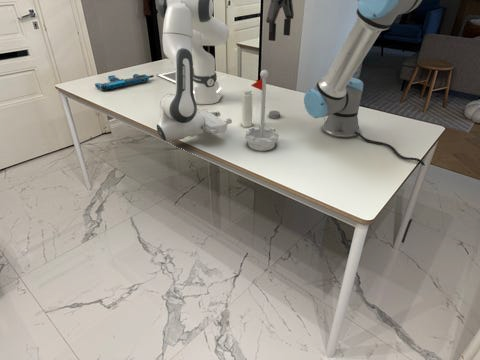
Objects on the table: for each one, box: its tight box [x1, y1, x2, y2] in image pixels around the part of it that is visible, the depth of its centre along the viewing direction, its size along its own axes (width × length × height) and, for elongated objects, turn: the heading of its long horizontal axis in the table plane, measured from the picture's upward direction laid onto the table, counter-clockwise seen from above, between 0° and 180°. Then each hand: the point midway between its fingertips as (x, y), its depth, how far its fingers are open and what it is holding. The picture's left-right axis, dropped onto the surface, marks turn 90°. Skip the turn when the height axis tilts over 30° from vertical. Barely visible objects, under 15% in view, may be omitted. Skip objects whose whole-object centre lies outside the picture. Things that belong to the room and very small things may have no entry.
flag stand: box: [245, 69, 279, 152], centre depth 130 cm, size 13×13×30 cm
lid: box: [268, 110, 281, 119], centre depth 163 cm, size 5×5×2 cm
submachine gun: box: [94, 73, 155, 91], centre depth 208 cm, size 34×4×25 cm
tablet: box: [156, 70, 176, 85], centre depth 216 cm, size 32×20×1 cm, turn 41°
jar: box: [241, 88, 254, 128], centre depth 151 cm, size 4×4×16 cm
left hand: (225, 117), depth 146 cm, fingers open, 8 cm apart
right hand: (279, 37), depth 144 cm, fingers open, 13 cm apart
